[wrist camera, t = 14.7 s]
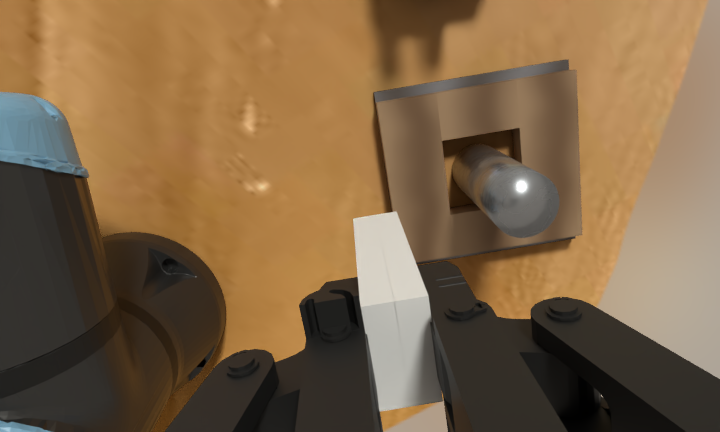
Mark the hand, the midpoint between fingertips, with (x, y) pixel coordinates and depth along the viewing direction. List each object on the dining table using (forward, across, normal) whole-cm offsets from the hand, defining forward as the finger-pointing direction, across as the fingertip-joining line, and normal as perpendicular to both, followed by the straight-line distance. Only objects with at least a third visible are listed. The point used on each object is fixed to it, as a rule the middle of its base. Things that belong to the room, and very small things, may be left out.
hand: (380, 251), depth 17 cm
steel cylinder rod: (+26, +10, -4) cm, 28 cm away
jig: (+26, +10, -4) cm, 29 cm away
